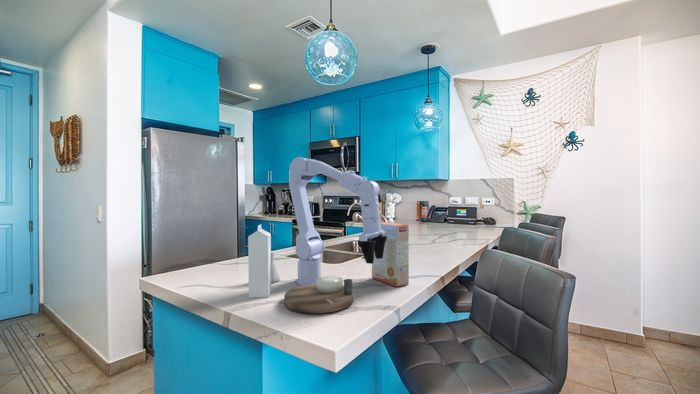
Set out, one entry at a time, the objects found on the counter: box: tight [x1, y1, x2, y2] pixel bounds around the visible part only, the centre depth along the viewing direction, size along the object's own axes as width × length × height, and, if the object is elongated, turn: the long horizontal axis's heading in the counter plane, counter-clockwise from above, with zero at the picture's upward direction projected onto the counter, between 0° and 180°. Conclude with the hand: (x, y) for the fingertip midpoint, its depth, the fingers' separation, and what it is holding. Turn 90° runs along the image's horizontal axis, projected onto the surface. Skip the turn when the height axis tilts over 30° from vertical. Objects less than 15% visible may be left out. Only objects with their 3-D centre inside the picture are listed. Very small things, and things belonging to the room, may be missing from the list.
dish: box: [316, 275, 344, 293], centre depth 97 cm, size 8×8×3 cm
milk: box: [247, 223, 272, 299], centre depth 100 cm, size 6×6×22 cm
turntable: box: [283, 278, 354, 314], centre depth 93 cm, size 20×20×6 cm
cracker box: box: [371, 221, 410, 288], centre depth 113 cm, size 14×6×21 cm, turn 33°
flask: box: [271, 252, 281, 284], centre depth 115 cm, size 7×7×10 cm
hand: (374, 260), depth 101 cm, fingers open, 7 cm apart
